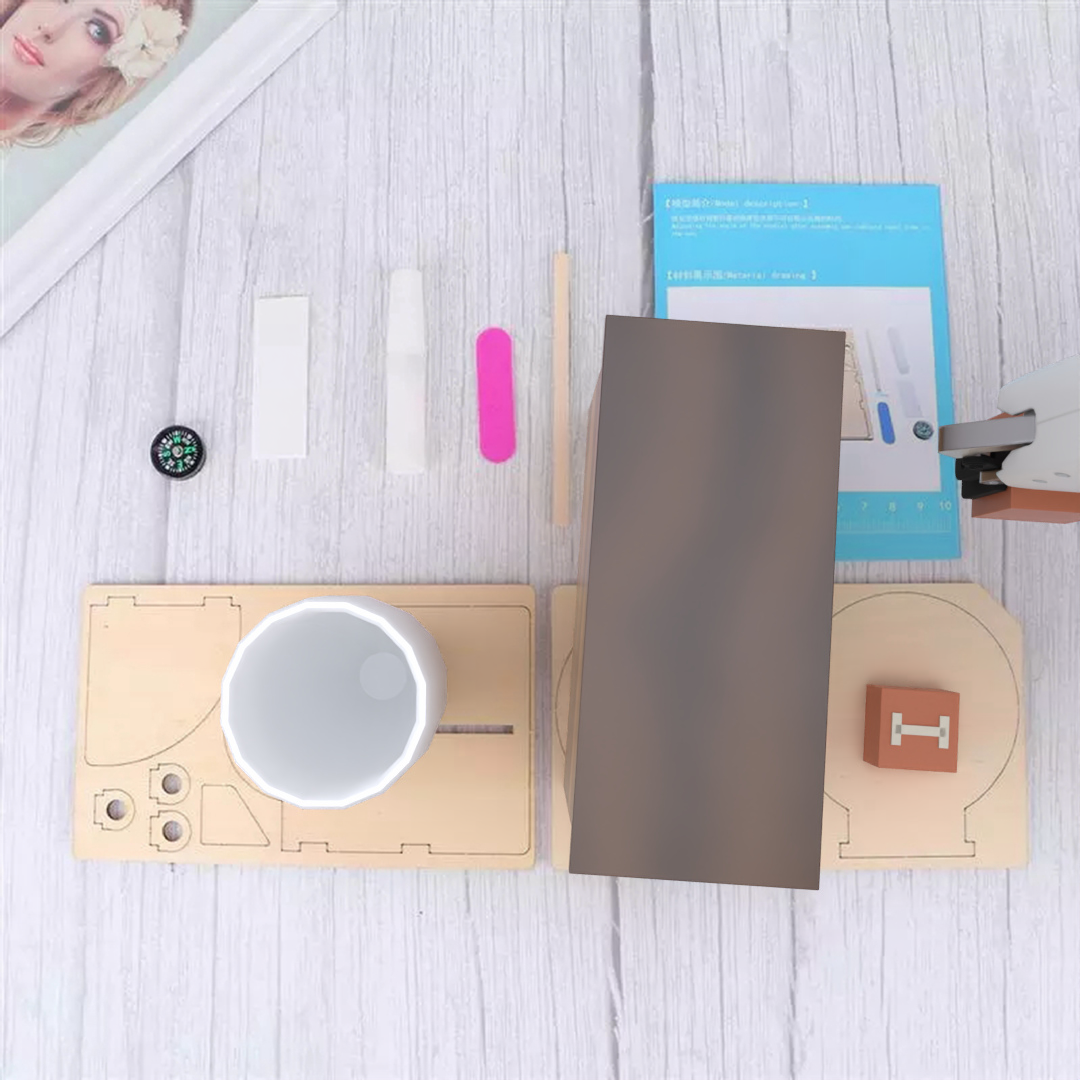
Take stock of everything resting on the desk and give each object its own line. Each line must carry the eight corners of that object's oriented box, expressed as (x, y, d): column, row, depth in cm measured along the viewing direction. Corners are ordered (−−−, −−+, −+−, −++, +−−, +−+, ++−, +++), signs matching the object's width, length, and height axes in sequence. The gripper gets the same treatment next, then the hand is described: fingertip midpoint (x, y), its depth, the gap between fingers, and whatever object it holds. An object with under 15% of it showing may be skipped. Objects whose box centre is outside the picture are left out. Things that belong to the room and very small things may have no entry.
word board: (842, 335, 45) (846, 331, 44) (815, 886, 43) (819, 890, 42) (604, 317, 45) (605, 314, 44) (568, 870, 43) (568, 873, 42)
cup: (368, 780, 65) (288, 866, 43) (284, 650, 65) (164, 670, 44) (498, 694, 65) (484, 736, 44) (414, 565, 66) (359, 544, 44)
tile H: (1067, 431, 52) (1119, 412, 47) (1065, 524, 51) (1116, 514, 47) (974, 425, 52) (1016, 406, 47) (970, 517, 51) (1012, 507, 47)
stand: (731, 424, 67) (831, 334, 45) (710, 792, 65) (804, 886, 43) (587, 414, 67) (615, 318, 45) (562, 782, 65) (579, 870, 43)
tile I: (930, 687, 65) (961, 693, 61) (927, 761, 65) (958, 773, 60) (857, 682, 65) (882, 687, 61) (853, 756, 65) (879, 768, 60)
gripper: (1529, 305, 33) (1184, 415, 51) (1032, 273, 34) (864, 394, 52) (1531, 521, 33) (1182, 555, 51) (1025, 487, 33) (857, 533, 51)
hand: (1023, 473), depth 51 cm, fingers closed on tile H, 5 cm apart
